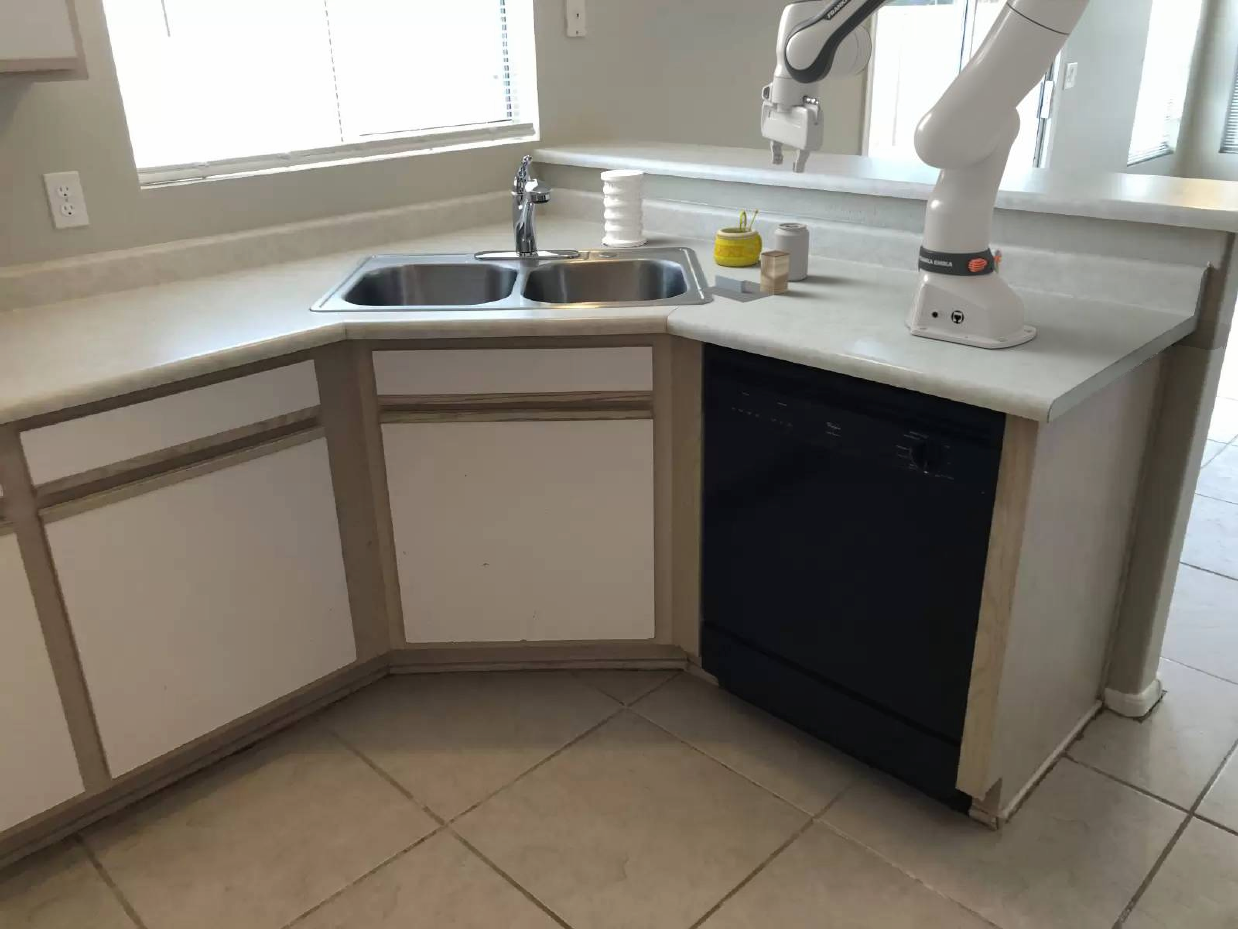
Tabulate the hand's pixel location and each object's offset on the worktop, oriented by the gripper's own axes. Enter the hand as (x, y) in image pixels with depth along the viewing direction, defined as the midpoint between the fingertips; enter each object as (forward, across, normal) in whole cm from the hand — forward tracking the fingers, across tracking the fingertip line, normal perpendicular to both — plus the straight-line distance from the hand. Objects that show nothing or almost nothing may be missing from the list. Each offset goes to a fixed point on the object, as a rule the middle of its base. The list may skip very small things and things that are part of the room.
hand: (787, 168), depth 186 cm
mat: (+26, +2, +6) cm, 26 cm away
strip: (+25, +5, +8) cm, 27 cm away
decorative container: (+30, +62, +14) cm, 70 cm away
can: (+26, +8, -8) cm, 28 cm away
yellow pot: (+27, +27, -4) cm, 38 cm away
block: (+25, -1, +1) cm, 25 cm away
